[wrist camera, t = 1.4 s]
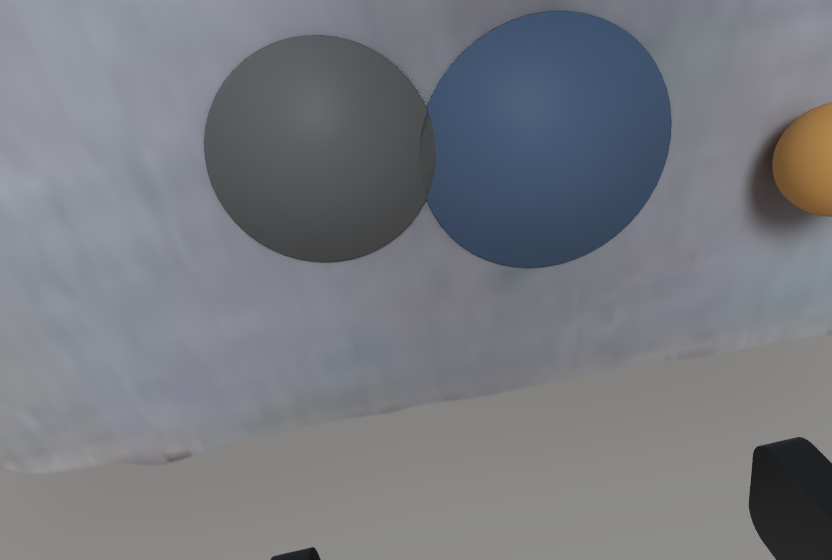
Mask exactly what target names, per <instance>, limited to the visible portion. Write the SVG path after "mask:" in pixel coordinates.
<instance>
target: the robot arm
mask: <svg viewBox="0 0 832 560" xmlns="http://www.w3.org/2000/svg"><path fill="white" fill-rule="evenodd" d="M749 510H750V515H751V518H752V521H753V524H754V526H755V529H756V531H757V533H758V534H759V536H760V538H761V539H762V541H763V542H764V544H765V545H766V546H767V548H768V549H769V550H770V552H771V553H772V555H773V556H774V557H775V559H776V560H832V463H831V462H830V461H829V460H828V459H827V458H826V457H825V456H824V455H823V454H822V453H821V452H820V451H819V450H818V449H817V448H816V447H815V446H814V445H813V444H812V443H811V442H809V441H808V440H806V439H804V438H801V437H797V438H792V439H788V440H784V441H779V442H775V443H771V444H767V445H762V446H758V447H756V448H755V450H754V453H753V462H752V475H751V485H750V496H749ZM271 560H320V558H319V555H318V553H317V551H316V549H315V548H313V547H312V548H307V549H303V550H299V551H295V552H290V553H286V554H281V555H277V556H274V557H272V558H271Z"/></svg>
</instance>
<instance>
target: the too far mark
mask: <svg viewBox="0 0 832 560" xmlns="http://www.w3.org/2000/svg"><path fill="white" fill-rule="evenodd" d="M426 113H428V112H427V109H426V106H425V104H424V102H423V100H422V98H421V97H420V95H419V93H418V92H417V90H416V88H415V87H414V86H413V84H412V83H411V82H410V81H409V79H408V78H407V77H406V76H405V75H404V74H403V73H402V72H401V71H400V70H399V69H398V68H397V67H396V66H395V65H394V64H393V63H391V62H390V61H389V60H388V59H386V58H385V57H384V56H382V55H381V54H379V53H377V52H375V51H373V50H372V49H370V48H368V47H366V46H363V45H361V44H358V43H356V42H353V41H350V40H346V39H342V38H338V37H331V36H322V35H315V36H300V37H294V38H288V39H285V40H282V41H279V42H276V43H273V44H270V45H268V46H266V47H264V48H262V49H260V50H258V51H257V52H255V53H254V54H252V55H251V56H249V57H248V58H247V59H245V60H244V61H243V62H242V63H241V64H240V65H239V66H237V67H236V68H235V69H234V70H233V71H232V72H231V74H230V75H229V76H228V77H227V79H226V80H225V81H224V82H223V84H222V86H221V87H220V89H219V91H218V92H217V94H216V96H215V98H214V100H213V103H212V105H211V108H210V110H209V114H208V118H207V122H206V127H205V137H204V150H205V160H206V166H207V171H208V175H209V178H210V181H211V184H212V187H213V189H214V191H215V193H216V195H217V197H218V199H219V201H220V202H221V204H222V206H223V207H224V209H225V210H226V212H227V213H228V214H229V215H230V217H231V218H232V219H233V220H234V222H235V223H236V224H237V225H238V226H239V227H240V228H241V229H243V230H244V231H245V232H246V233H247V234H248V235H250V236H251V237H252V238H254V239H255V240H256V241H258V242H259V243H261V244H263V245H264V246H266V247H268V248H270V249H272V250H274V251H276V252H279V253H281V254H283V255H286V256H290V257H293V258H296V259H301V260H307V261H316V262H334V261H343V260H348V259H353V258H357V257H360V256H363V255H366V254H368V253H371V252H373V251H375V250H377V249H379V248H381V247H382V246H384V245H386V244H387V243H389V242H391V241H392V240H393V239H394V238H396V237H397V236H398V235H399V234H401V233H402V232H403V231H404V230H405V229H406V228H407V227H408V226H409V224H410V223H411V222H412V221H413V219H414V218H415V217H416V215H417V214H418V213H419V211H420V209H421V207H422V206H423V204H424V202H425V200H426V198H427V195H428V194H427V193H429V191H430V188H431V185H430V184H432V181H433V177H434V174H433V173H434V171H435V168H434V167H435V164H436V160H435V159H436V157H435V156H436V143H435V142H434V141H435V136H434V130H433V126H432V123H431V119H430V116H429V113H428V115H426ZM424 117H427V118H424ZM428 118H429V119H428ZM424 119H425V120H426V119H427V120H426V122H427V123H428V125H427V123H426V122H425V121H424ZM423 123H424V124H423ZM425 123H426V125H427V127H426V125H425ZM424 125H425V127H426V128H424ZM428 126H429V127H428ZM422 127H423V128H424V129H425V130H424V129H423V130H422ZM428 129H429V131H430V132H428ZM421 131H423V132H421ZM425 133H427V134H425ZM421 134H422V136H421V137H422V138H421V139H423V140H422V141H421V140H420V135H421ZM423 134H425V135H424V138H423ZM429 134H431V135H429ZM428 135H429V136H428ZM425 136H426V137H425ZM432 136H433V137H432ZM427 137H428V138H427ZM431 137H432V138H433V139H434V141H433V139H432V138H431ZM425 138H426V139H427V140H426V139H425ZM421 142H423V143H421ZM421 144H422V145H421ZM424 145H425V146H424ZM431 145H432V146H431ZM419 146H420V147H419ZM433 146H434V148H433ZM420 148H421V149H420ZM420 150H421V151H420ZM427 150H428V151H427ZM429 150H431V151H432V152H433V153H432V152H431V151H429ZM423 152H424V153H423ZM426 152H427V153H426ZM430 152H431V154H432V155H433V156H432V155H431V154H430ZM420 153H421V154H420ZM426 154H427V155H426ZM429 154H430V155H429ZM420 155H421V156H420ZM428 156H429V157H428ZM427 157H428V159H427ZM434 157H435V158H434ZM419 159H420V160H419ZM434 161H435V162H434ZM419 163H420V164H419ZM421 164H422V165H421ZM423 164H424V165H423ZM433 164H434V165H433ZM422 166H423V168H422ZM432 166H433V167H432ZM419 167H420V168H419ZM433 169H434V170H433ZM432 170H433V171H432ZM428 171H429V172H428ZM424 172H425V173H424ZM421 173H422V174H421ZM430 173H431V174H430ZM428 174H429V175H428ZM426 175H427V176H426ZM427 177H428V178H429V177H430V178H429V179H428V178H427ZM423 178H424V179H423ZM426 178H427V179H426ZM423 181H424V183H423ZM430 181H431V183H430ZM427 182H428V184H427ZM429 186H430V187H429ZM425 188H426V189H425ZM426 191H427V193H426Z"/></svg>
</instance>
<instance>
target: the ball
mask: <svg viewBox="0 0 832 560" xmlns="http://www.w3.org/2000/svg"><path fill="white" fill-rule="evenodd" d="M772 170H773V175H774V179H775V182H776V184H777V186H778V188H779V190H780V191H781V193H782V194H783V195H784V197H785V198H786V199H787V200H789V201H790V202H791V203H792V204H794V205H795V206H797V207H798V208H800V209H802V210H804V211H807V212H809V213H812V214H816V215H821V216H831V217H832V103H827V104H824V105H821V106H818V107H816V108H814V109H811V110H810V111H808V112H806V113H804V114H803V115H802V116H800V117H799V118H797V119H796V120H795V121H794V122H793V123H791V124H790V126H789V127H788V128H787V129H786V130H785V131H784V133H783V134H782V136H781V137H780V139H779V141H778V143H777V145H776V148H775V150H774V154H773V161H772Z"/></svg>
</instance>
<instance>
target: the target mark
mask: <svg viewBox="0 0 832 560" xmlns="http://www.w3.org/2000/svg"><path fill="white" fill-rule="evenodd" d="M427 112H428V113H429V116H430V119H431V123H432V126H433V130H434V136H435V141H434V139H433V138H432V137H433V136H432V137H431V138H432V139H433V141H434V142H435V143H436V156H435V157H436V159H435V160H436V164H435V167H434V168H435V171H434V173H433V174H434V177H433V181H432V184H430V185H431V188H430V191H429V193H427V191H426V193H427V194H428V195H427V198H426V199H427V201H428V203H429V205H430V208H431V210H432V212H433V213H434V215H435V217H436V218H437V220H438V221H439V223H440V224H441V226H442V227H443V228H444V229H445V230H446V232H447V233H448V234H449V235H450V236H451V237H452V238H453V239H454V240H455V241H457V242H458V243H459V244H460V245H461V246H463V247H464V248H466V249H467V250H469V251H470V252H472V253H473V254H475V255H477V256H480V257H482V258H484V259H486V260H489V261H492V262H495V263H498V264H502V265H507V266H512V267H524V268H534V267H546V266H552V265H557V264H561V263H565V262H568V261H571V260H574V259H577V258H579V257H581V256H584V255H586V254H588V253H590V252H592V251H594V250H595V249H597V248H599V247H601V246H602V245H604V244H605V243H607V242H608V241H609V240H611V239H612V238H614V237H615V236H616V235H617V234H618V233H619V232H621V231H622V230H623V229H624V228H625V227H626V226H627V225H628V224H629V223H630V222H631V221H632V220H633V219H634V218H635V216H636V215H637V214H638V213H639V212H640V210H641V209H642V208H643V206H644V205H645V203H646V202H647V201H648V199H649V197H650V196H651V194H652V192H653V190H654V189H655V187H656V185H657V183H658V180H659V178H660V176H661V174H662V171H663V168H664V165H665V162H666V158H667V155H668V150H669V144H670V139H671V109H670V102H669V97H668V93H667V88H666V86H665V83H664V80H663V78H662V75H661V73H660V71H659V69H658V67H657V66H656V64H655V62H654V60H653V59H652V57H651V56H650V55H649V53H648V52H647V51H646V50H645V48H644V47H643V46H642V45H641V44H640V43H639V42H638V41H637V40H636V39H635V38H634V37H633V36H631V35H630V34H629V33H627V32H626V31H624V30H623V29H621V28H620V27H618V26H617V25H615V24H613V23H611V22H608V21H606V20H604V19H602V18H599V17H595V16H592V15H588V14H585V13H577V12H569V11H550V12H542V13H536V14H530V15H527V16H524V17H521V18H518V19H514V20H511V21H509V22H507V23H505V24H503V25H501V26H499V27H497V28H495V29H493V30H492V31H490V32H488V33H487V34H485V35H484V36H482V37H481V38H479V39H478V40H477V41H475V42H474V43H473V44H472V45H471V46H470V47H468V48H467V49H466V50H465V51H464V52H463V53H462V54H461V55H460V56H459V57H458V58H457V59H456V60H455V62H454V63H453V64H452V65H451V66H450V67H449V69H448V70H447V72H446V73H445V74H444V76H443V77H442V79H441V80H440V82H439V84H438V85H437V87H436V89H435V91H434V93H433V95H432V97H431V99H430V102H429V104H428V107H427ZM428 113H426V115H428ZM424 118H427V117H424ZM428 119H429V118H428ZM426 120H427V119H426ZM426 120H425V119H424V121H425V122H426ZM426 123H427V122H426ZM426 123H425V125H426ZM423 124H424V123H423ZM425 125H424V128H426V127H427V125H428V123H427V125H426V127H425ZM428 127H429V126H428ZM424 128H423V127H422V130H423V129H424ZM424 130H425V129H424ZM421 132H423V131H421ZM428 132H430V131H429V129H428ZM425 134H427V133H425ZM425 134H423V138H424V135H425ZM429 135H431V134H429ZM429 135H428V136H429ZM421 136H422V134H421V135H420V140H421V141H422V140H423V139H421V138H422V137H421ZM425 137H426V136H425ZM427 138H428V137H427ZM425 139H426V138H425ZM426 140H427V139H426ZM421 143H423V142H421ZM421 145H422V144H421ZM424 146H425V145H424ZM431 146H432V145H431ZM419 147H420V146H419ZM433 148H434V146H433ZM420 149H421V148H420ZM420 151H421V150H420ZM427 151H428V150H427ZM429 151H431V150H429ZM431 152H432V151H431ZM431 152H430V154H431ZM423 153H424V152H423ZM426 153H427V152H426ZM432 153H433V152H432ZM420 154H421V153H420ZM430 154H429V155H430ZM426 155H427V154H426ZM431 155H432V154H431ZM420 156H421V155H420ZM432 156H433V155H432ZM428 157H429V156H428ZM428 157H427V159H428ZM435 157H434V158H435ZM419 160H420V159H419ZM434 162H435V161H434ZM419 164H420V163H419ZM421 165H422V164H421ZM423 165H424V164H423ZM433 165H434V164H433ZM432 167H433V166H432ZM419 168H420V167H419ZM422 168H423V166H422ZM433 170H434V169H433ZM433 170H432V171H433ZM428 172H429V171H428ZM424 173H425V172H424ZM421 174H422V173H421ZM430 174H431V173H430ZM428 175H429V174H428ZM426 176H427V175H426ZM427 178H428V177H427ZM427 178H426V179H427ZM429 178H430V177H429ZM429 178H428V179H429ZM423 179H424V178H423ZM423 183H424V181H423ZM430 183H431V181H430ZM427 184H428V182H427ZM429 187H430V186H429ZM425 189H426V188H425Z"/></svg>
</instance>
